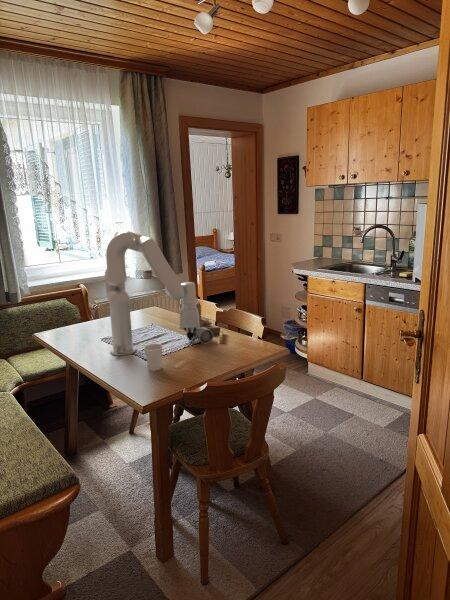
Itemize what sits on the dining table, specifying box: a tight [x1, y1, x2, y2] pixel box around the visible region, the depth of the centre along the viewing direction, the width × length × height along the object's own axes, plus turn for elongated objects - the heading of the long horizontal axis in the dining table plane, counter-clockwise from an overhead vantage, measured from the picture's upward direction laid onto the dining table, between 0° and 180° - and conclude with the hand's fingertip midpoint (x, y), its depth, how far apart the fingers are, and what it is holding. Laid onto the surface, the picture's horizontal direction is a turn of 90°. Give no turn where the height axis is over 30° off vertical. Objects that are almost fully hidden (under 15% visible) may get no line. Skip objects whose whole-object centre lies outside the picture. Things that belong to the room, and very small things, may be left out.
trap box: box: [189, 326, 224, 345], centre depth 220 cm, size 17×20×4 cm
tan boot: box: [196, 300, 213, 328], centre depth 243 cm, size 15×12×15 cm
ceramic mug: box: [191, 327, 214, 345], centre depth 215 cm, size 11×8×8 cm
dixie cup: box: [143, 343, 164, 372], centre depth 182 cm, size 8×8×10 cm
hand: (190, 339), depth 218 cm, fingers closed
